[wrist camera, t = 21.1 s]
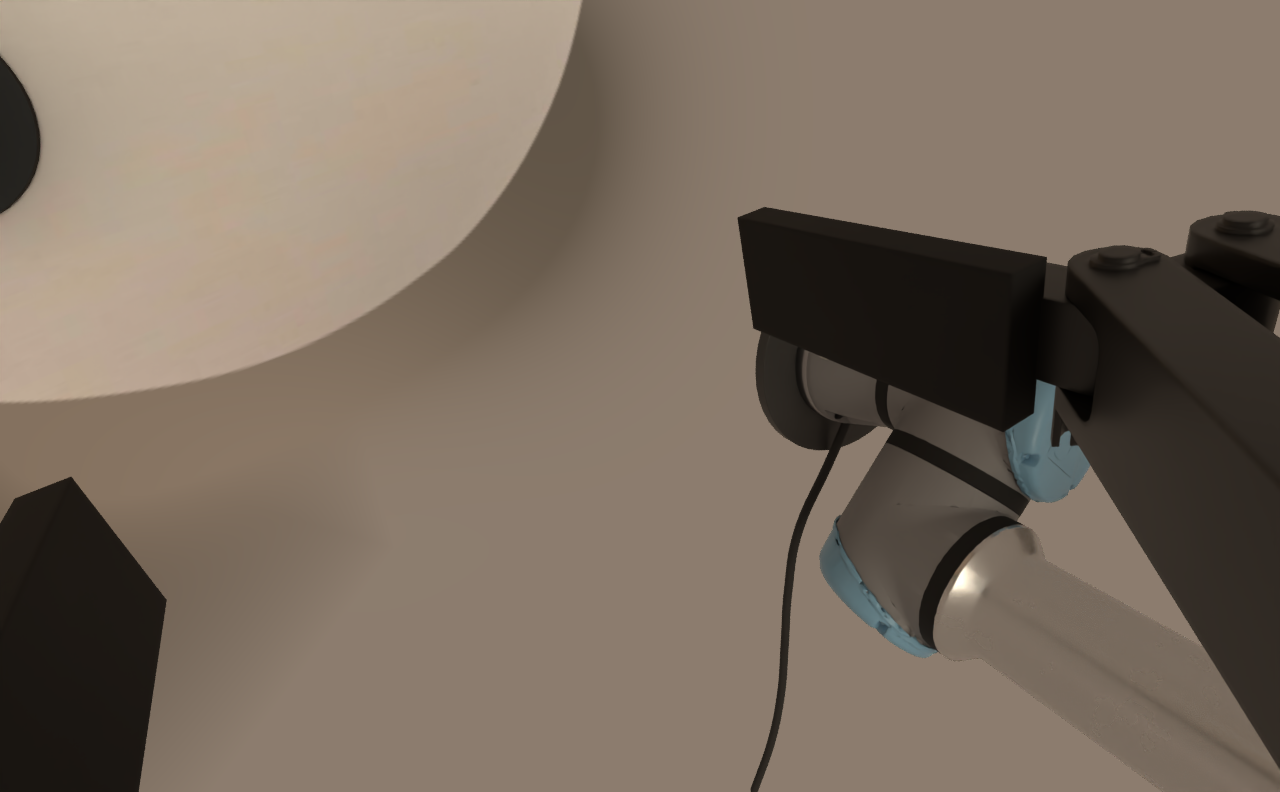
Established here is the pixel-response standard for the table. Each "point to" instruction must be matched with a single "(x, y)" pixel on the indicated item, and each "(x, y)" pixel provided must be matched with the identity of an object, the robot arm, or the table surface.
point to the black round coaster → (16, 138)
